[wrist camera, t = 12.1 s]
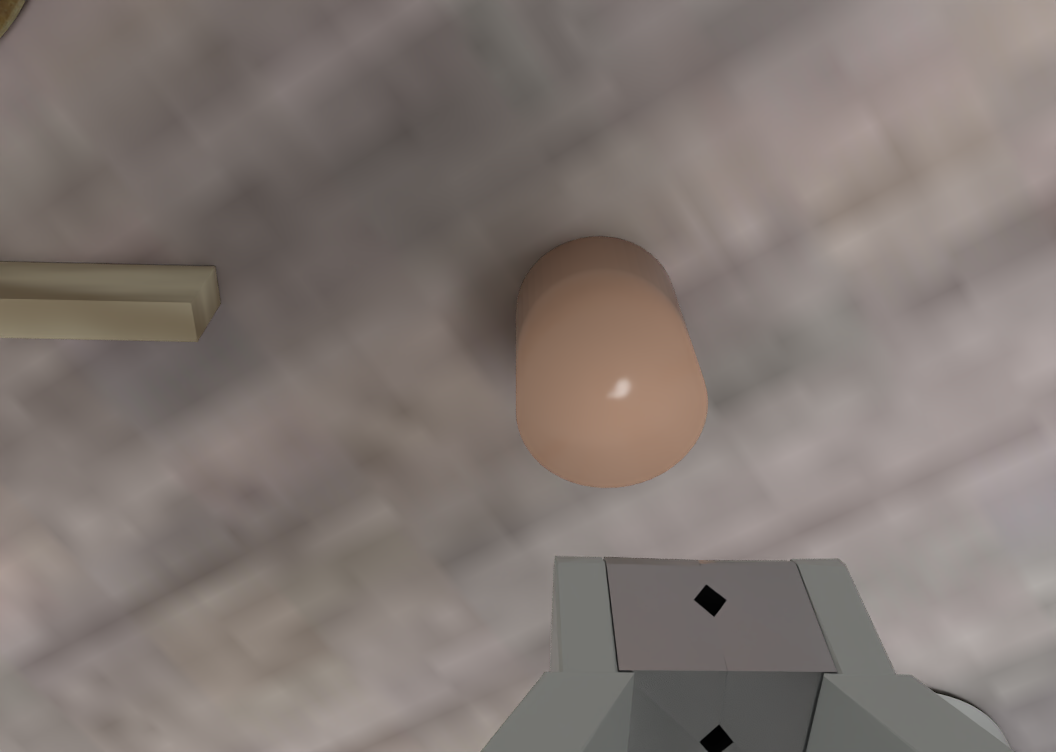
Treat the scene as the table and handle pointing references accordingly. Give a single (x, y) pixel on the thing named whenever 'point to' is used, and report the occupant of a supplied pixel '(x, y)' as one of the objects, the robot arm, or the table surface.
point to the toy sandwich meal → (9, 13)
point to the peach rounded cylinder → (605, 365)
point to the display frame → (106, 301)
